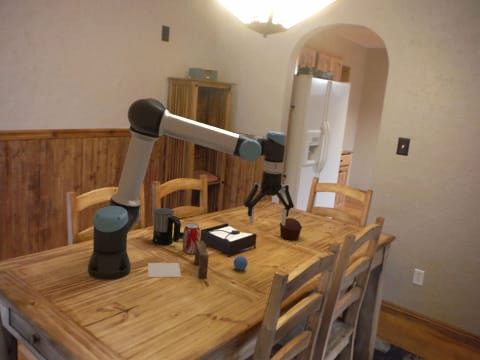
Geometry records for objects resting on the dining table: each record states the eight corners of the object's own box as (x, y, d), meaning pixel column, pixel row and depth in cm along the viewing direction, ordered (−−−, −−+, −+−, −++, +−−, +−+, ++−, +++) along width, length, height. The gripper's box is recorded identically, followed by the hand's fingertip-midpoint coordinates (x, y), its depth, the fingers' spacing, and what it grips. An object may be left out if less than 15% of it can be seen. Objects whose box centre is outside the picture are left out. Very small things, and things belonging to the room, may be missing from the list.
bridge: (198, 278, 149) (200, 255, 147) (194, 262, 163) (196, 240, 161) (206, 278, 150) (208, 255, 148) (201, 262, 163) (203, 240, 161)
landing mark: (148, 277, 146) (148, 277, 146) (148, 263, 157) (148, 263, 157) (181, 277, 149) (181, 276, 148) (178, 263, 160) (178, 263, 160)
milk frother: (148, 243, 177) (149, 211, 174) (163, 232, 192) (164, 203, 189) (177, 249, 174) (180, 217, 171) (190, 237, 189) (193, 207, 186)
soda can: (195, 256, 169) (197, 229, 166) (179, 253, 170) (181, 226, 167) (200, 250, 175) (202, 224, 173) (185, 247, 177) (187, 221, 174)
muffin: (304, 241, 199) (307, 222, 197) (285, 242, 195) (287, 223, 193) (293, 233, 210) (295, 215, 207) (274, 234, 205) (276, 215, 203)
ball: (234, 272, 157) (235, 259, 155) (231, 266, 162) (233, 253, 161) (248, 272, 158) (249, 259, 157) (244, 266, 163) (246, 253, 162)
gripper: (244, 172, 148) (239, 227, 152) (306, 175, 154) (299, 227, 158) (239, 168, 155) (234, 220, 159) (298, 171, 161) (292, 221, 165)
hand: (267, 224), depth 159 cm, fingers open, 13 cm apart
